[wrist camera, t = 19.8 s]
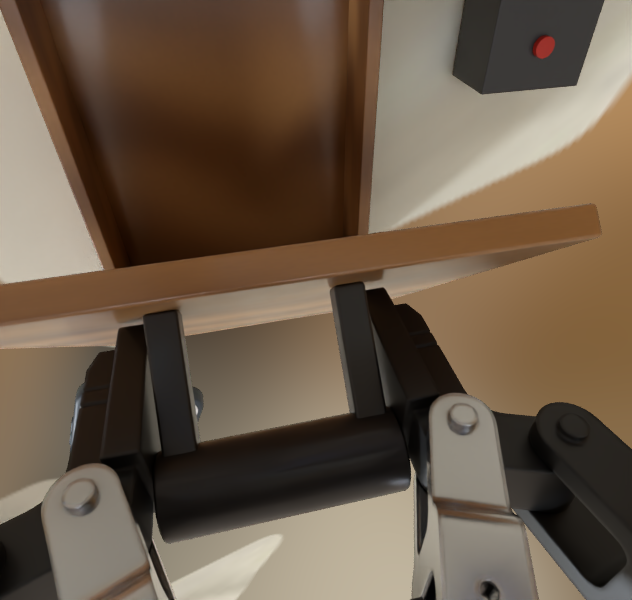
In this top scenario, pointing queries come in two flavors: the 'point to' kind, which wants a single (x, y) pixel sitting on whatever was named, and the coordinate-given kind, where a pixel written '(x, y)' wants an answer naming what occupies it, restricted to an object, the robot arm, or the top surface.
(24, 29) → the chest
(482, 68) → the remote
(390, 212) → the top surface
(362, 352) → the lid
